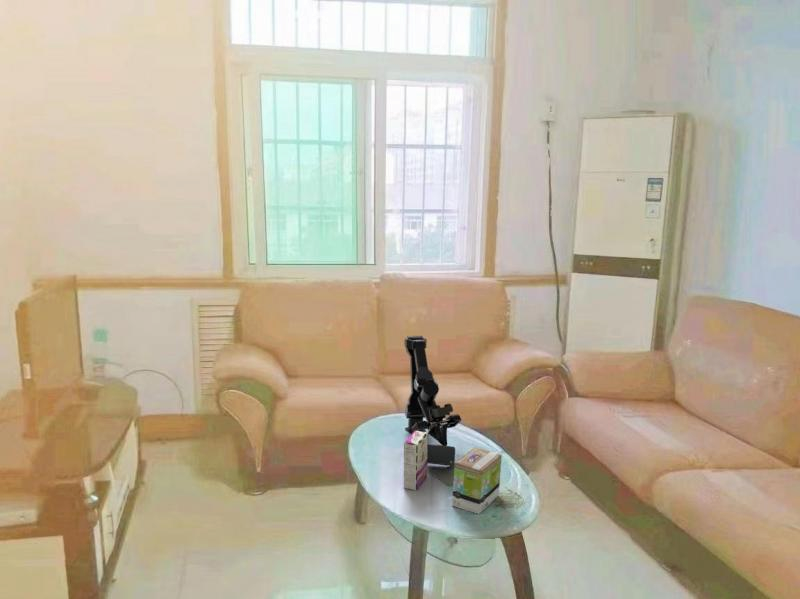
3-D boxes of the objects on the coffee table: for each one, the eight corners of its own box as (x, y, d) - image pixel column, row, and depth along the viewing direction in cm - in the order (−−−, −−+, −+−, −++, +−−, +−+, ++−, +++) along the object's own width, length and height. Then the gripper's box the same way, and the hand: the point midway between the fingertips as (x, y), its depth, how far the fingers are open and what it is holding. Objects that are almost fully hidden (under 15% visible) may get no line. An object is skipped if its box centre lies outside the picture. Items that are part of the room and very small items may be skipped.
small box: (455, 447, 223) (455, 446, 213) (454, 466, 222) (454, 465, 212) (426, 444, 225) (424, 443, 215) (425, 463, 223) (423, 462, 213)
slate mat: (429, 472, 217) (429, 471, 217) (465, 462, 225) (465, 461, 225) (449, 486, 207) (449, 485, 207) (486, 475, 215) (486, 475, 215)
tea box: (480, 515, 189) (482, 470, 187) (451, 506, 194) (452, 462, 192) (499, 495, 202) (502, 453, 199) (471, 487, 207) (473, 445, 204)
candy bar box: (413, 474, 215) (414, 429, 212) (427, 477, 213) (428, 432, 211) (402, 488, 205) (403, 441, 202) (416, 491, 203) (418, 444, 200)
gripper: (416, 400, 218) (433, 441, 211) (459, 393, 228) (476, 431, 220) (404, 415, 226) (420, 454, 218) (446, 407, 236) (462, 444, 228)
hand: (445, 446), depth 221 cm, fingers closed
